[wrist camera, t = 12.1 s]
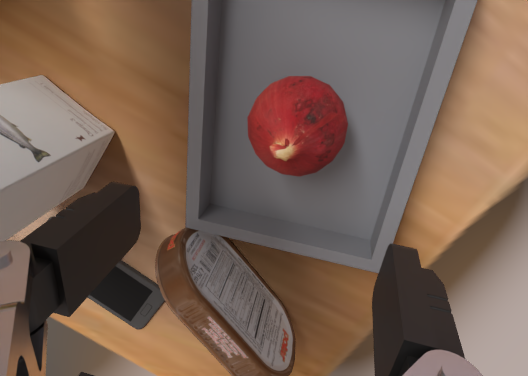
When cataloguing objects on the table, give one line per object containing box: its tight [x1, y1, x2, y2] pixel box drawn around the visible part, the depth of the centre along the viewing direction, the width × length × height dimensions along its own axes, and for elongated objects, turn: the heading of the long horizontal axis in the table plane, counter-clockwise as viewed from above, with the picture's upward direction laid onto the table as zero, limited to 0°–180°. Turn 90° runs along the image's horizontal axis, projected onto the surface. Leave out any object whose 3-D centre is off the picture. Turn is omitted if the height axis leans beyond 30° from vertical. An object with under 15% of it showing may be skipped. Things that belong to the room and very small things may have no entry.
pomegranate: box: [247, 76, 348, 177], centre depth 22 cm, size 6×6×8 cm
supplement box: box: [0, 75, 115, 241], centre depth 27 cm, size 7×7×13 cm
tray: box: [186, 0, 477, 273], centre depth 25 cm, size 20×15×4 cm
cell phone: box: [49, 217, 165, 329], centre depth 39 cm, size 7×14×1 cm, turn 57°
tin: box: [155, 227, 295, 376], centre depth 31 cm, size 15×3×8 cm, turn 39°
